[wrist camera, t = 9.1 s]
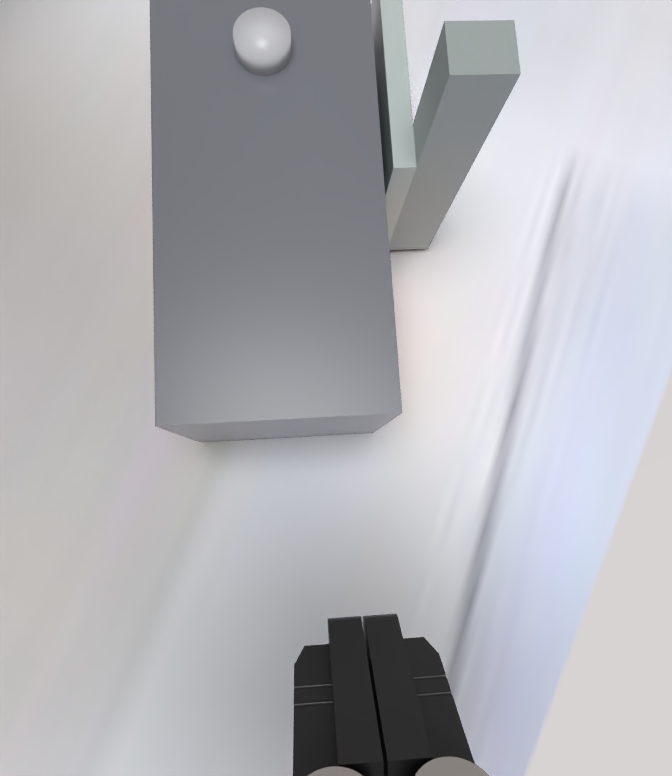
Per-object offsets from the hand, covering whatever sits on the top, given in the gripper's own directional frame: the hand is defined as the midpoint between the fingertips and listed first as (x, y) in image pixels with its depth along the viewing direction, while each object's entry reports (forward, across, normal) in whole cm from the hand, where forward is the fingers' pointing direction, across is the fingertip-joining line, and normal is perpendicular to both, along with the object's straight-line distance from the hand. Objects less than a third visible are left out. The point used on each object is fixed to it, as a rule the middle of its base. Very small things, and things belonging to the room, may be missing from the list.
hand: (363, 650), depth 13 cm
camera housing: (+24, -2, +6) cm, 25 cm away
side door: (+27, +5, +12) cm, 29 cm away
